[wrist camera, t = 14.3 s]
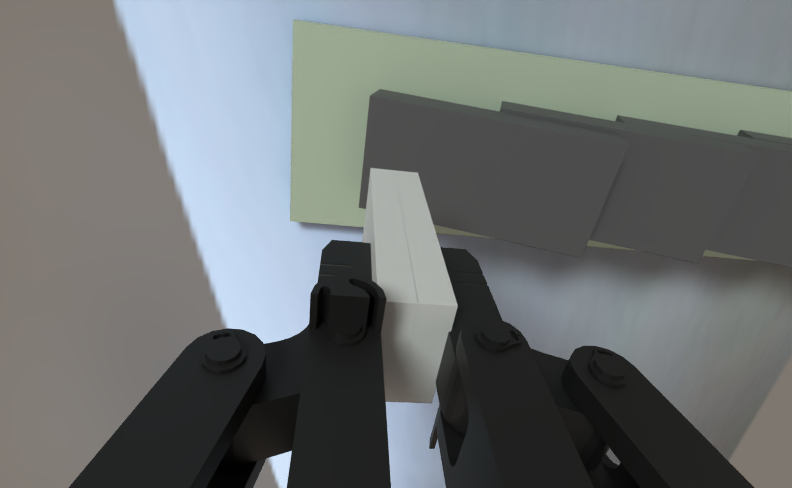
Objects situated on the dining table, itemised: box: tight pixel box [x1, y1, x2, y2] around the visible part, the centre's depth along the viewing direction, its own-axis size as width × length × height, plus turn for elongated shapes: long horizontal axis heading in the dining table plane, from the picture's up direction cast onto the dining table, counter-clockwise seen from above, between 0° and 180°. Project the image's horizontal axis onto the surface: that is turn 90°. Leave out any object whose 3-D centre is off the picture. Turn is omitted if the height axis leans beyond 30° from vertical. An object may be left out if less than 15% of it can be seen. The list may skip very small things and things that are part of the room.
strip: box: [290, 20, 792, 261], centre depth 21 cm, size 9×27×1 cm, turn 82°
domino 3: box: [615, 115, 792, 268], centre depth 20 cm, size 5×2×10 cm
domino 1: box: [359, 89, 629, 258], centre depth 19 cm, size 5×2×10 cm
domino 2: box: [500, 101, 760, 263], centre depth 19 cm, size 5×2×10 cm
